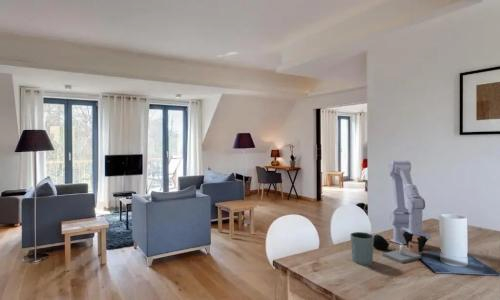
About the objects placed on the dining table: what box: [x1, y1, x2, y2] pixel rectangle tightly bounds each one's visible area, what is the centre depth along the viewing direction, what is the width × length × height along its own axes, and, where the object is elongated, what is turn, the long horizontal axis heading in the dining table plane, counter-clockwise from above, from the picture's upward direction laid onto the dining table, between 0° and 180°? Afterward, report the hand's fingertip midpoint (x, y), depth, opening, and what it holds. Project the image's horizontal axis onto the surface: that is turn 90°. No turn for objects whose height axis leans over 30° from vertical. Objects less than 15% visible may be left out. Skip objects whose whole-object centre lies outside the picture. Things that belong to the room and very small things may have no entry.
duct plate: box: [382, 244, 422, 264], centre depth 150 cm, size 14×10×5 cm
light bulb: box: [373, 234, 397, 252], centre depth 161 cm, size 7×7×12 cm
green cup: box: [349, 231, 375, 266], centre depth 145 cm, size 10×10×12 cm
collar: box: [407, 240, 422, 255], centre depth 156 cm, size 6×5×5 cm
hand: (414, 249), depth 156 cm, fingers closed on collar, 5 cm apart
